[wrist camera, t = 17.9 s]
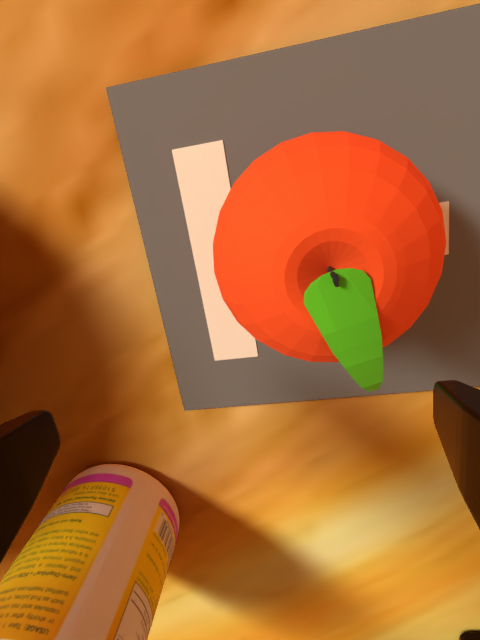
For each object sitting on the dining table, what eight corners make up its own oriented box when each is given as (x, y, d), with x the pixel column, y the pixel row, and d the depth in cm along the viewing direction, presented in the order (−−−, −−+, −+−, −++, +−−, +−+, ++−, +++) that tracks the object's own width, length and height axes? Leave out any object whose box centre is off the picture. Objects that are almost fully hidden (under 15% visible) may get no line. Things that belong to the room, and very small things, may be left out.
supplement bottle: (47, 503, 23) (-215, 864, 11) (109, 436, 21) (-134, 795, 9) (139, 567, 24) (-10, 962, 12) (207, 509, 22) (108, 923, 10)
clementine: (436, 305, 16) (538, 397, 10) (277, 360, 18) (271, 472, 11) (374, 104, 14) (451, 44, 7) (199, 188, 16) (135, 201, 9)
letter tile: (514, -3, 13) (518, -6, 13) (494, 382, 17) (497, 385, 17) (108, 88, 15) (105, 87, 15) (185, 408, 20) (184, 411, 19)
